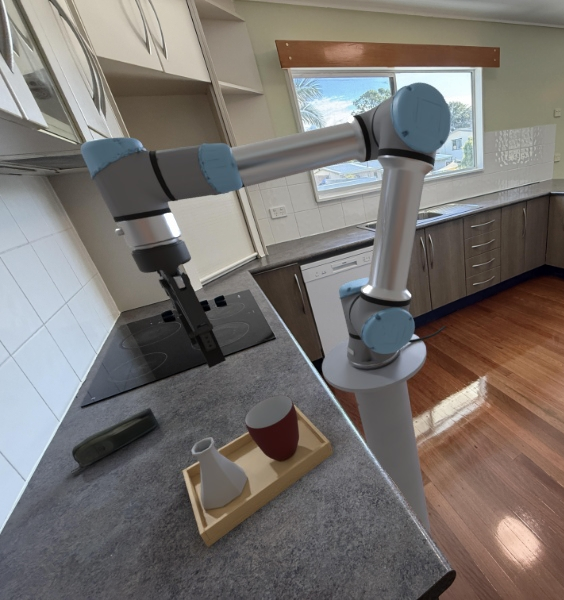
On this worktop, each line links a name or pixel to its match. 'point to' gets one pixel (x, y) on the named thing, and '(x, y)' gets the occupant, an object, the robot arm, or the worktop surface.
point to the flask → (217, 475)
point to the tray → (255, 478)
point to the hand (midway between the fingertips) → (207, 351)
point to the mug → (274, 427)
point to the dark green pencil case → (113, 438)
